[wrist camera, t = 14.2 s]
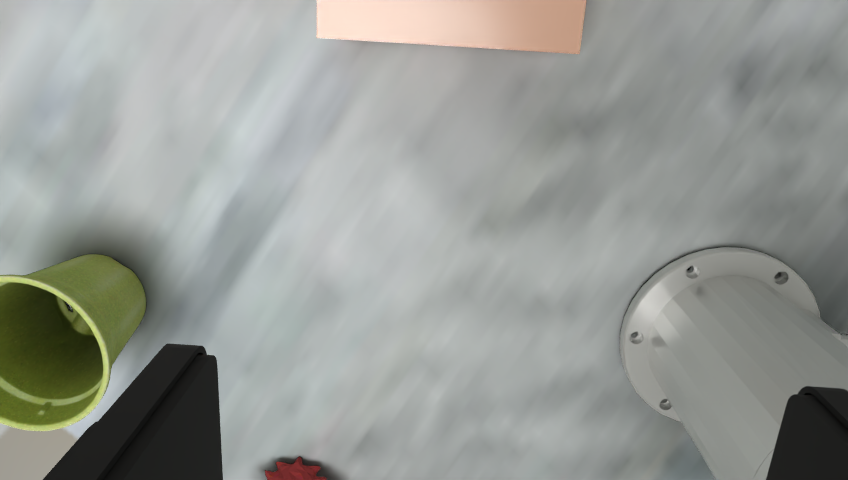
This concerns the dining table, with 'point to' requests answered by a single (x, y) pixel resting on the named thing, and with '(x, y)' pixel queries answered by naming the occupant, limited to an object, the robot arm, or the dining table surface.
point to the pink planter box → (457, 23)
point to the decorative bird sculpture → (294, 471)
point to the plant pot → (63, 338)
